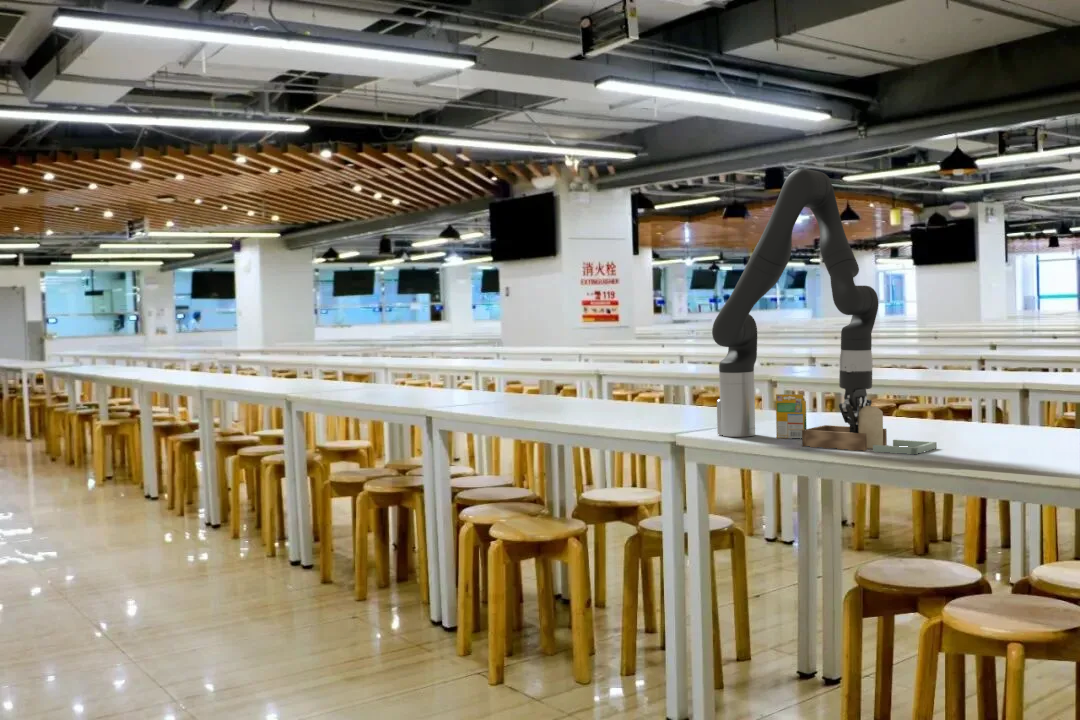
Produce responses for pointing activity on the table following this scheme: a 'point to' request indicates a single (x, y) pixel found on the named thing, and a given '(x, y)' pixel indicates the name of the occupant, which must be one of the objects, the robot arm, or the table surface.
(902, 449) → the mint green u-bracket
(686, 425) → the table surface
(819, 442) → the cubby
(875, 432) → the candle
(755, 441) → the table surface
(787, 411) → the crayon box
